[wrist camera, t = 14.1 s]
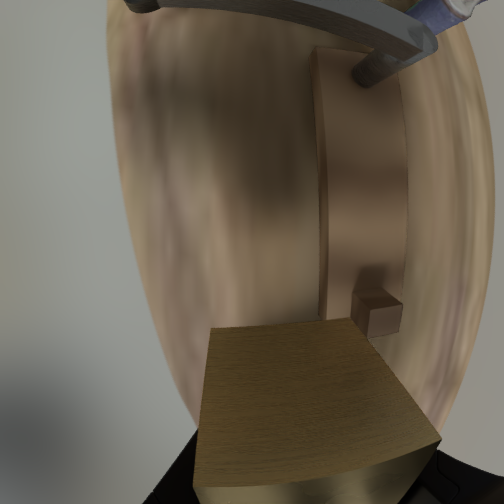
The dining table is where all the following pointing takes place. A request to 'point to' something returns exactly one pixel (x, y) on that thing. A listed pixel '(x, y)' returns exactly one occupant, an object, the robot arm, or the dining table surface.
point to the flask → (442, 13)
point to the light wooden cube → (305, 419)
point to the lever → (336, 28)
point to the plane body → (360, 193)
